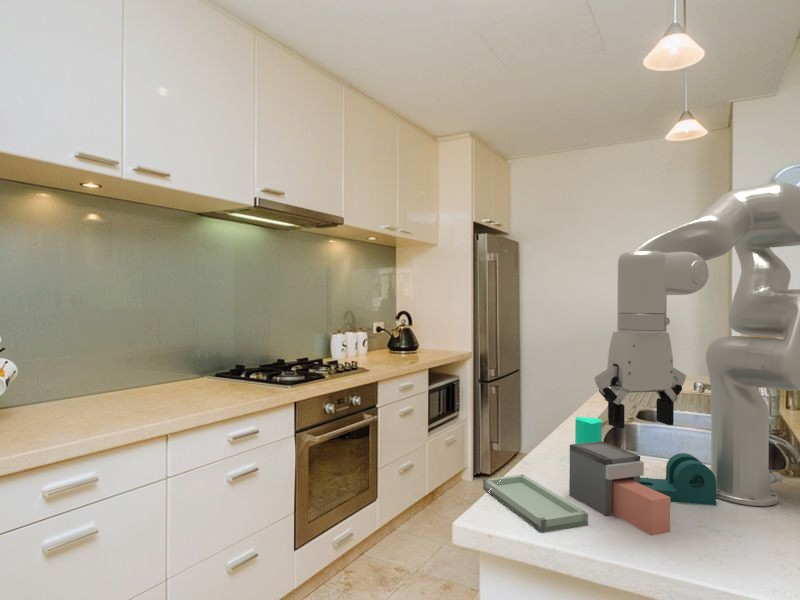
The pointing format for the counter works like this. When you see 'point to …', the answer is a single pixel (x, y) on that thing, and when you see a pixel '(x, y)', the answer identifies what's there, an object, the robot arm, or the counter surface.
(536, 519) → the tray
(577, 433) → the candle
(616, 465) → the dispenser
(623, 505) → the terracotta pink bar
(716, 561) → the counter surface
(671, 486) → the bracket
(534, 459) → the counter surface
